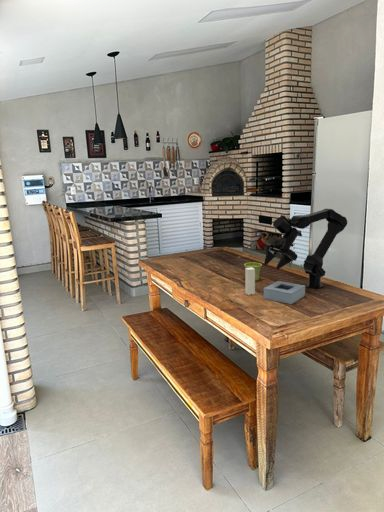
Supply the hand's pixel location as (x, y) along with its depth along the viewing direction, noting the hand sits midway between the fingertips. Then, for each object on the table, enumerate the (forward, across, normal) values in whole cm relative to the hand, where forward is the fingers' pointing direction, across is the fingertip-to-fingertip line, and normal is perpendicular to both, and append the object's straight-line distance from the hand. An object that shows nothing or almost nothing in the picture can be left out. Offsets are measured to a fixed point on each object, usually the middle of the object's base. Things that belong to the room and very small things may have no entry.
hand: (270, 267), depth 181 cm
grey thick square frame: (+8, +5, +12) cm, 15 cm away
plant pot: (+6, -26, +15) cm, 31 cm away
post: (+15, -8, +4) cm, 17 cm away
